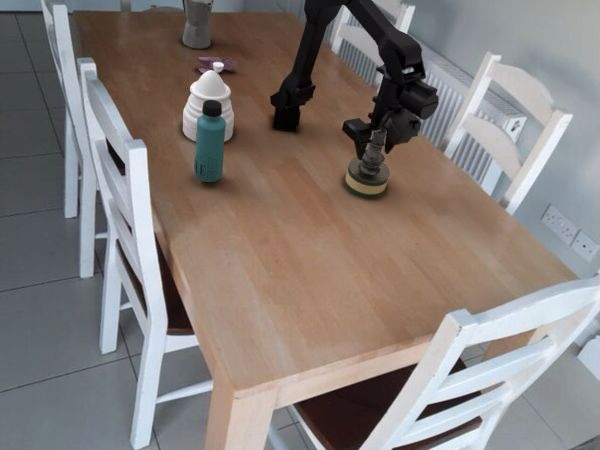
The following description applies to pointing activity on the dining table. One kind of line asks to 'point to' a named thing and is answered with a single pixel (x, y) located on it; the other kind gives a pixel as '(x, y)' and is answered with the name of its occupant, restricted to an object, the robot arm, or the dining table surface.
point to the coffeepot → (197, 23)
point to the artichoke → (210, 60)
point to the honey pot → (202, 91)
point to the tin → (366, 180)
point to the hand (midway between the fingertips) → (372, 156)
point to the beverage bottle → (210, 142)
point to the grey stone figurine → (373, 154)
